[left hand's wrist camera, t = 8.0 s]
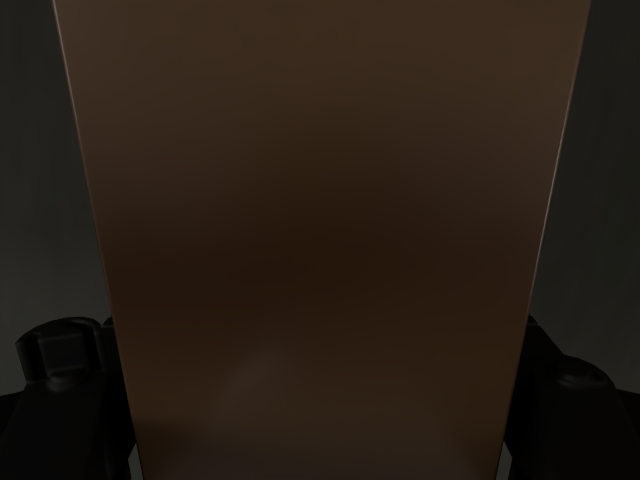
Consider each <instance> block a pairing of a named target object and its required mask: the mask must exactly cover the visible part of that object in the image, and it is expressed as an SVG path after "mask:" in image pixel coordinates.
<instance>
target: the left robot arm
mask: <svg viewBox="0 0 640 480" xmlns="http://www.w3.org/2000/svg"><path fill="white" fill-rule="evenodd" d="M15 344H16V348H17V351H18V355H19V358H20V361H21V365H22V368H23V372H24V375H25V379H26V382H27V384H26V386H25V388H24V391H21V392H17V393H13V394H8V395H3V396H0V480H131V473H130V467H129V462H128V458H129V456H130V454H131V451H132V449H133V447H134V445H135V443H136V439H135V434H134V428H133V423H132V418H131V413H130V408H129V402H128V397H127V392H126V387H125V382H124V376H123V371H122V366H121V361H120V356H119V350H118V345H117V340H116V335H115V330H114V324H113V319H112V314H111V315H110V318H108V319H107V320H106V321H105V322H104V324H103V325H102V328H101V325H100V323H98V322H97V321H96V320H94V319H91V318H86V317H67V318H62V319H58V320H53V321H50V322H47V323H45V324H42V325H39V326H37V327H35V328H33V329H31V330H30V331H28V332H27V333H25V334H23V335H22V336H21V337H20V338H19V340H18V341H17V342H16V343H15ZM504 442H505V444H506V446H507V448H508V450H509V452H510V454H511V456H512V462H511V467H510V472H509V477H508V480H640V394H637V393H632V392H627V391H623V390H619V389H616V388H615V385H614V383H613V382H612V381H611V379H610V378H609V377H608V376H607V374H606V373H604V372H603V371H602V370H600V369H599V368H597V367H596V366H595V365H593V364H590V363H588V362H586V361H584V360H581V359H579V358H575V357H571V356H567V355H564V354H563V353H562V352H561V351H560V350H559V348H558V347H557V346H556V345H555V344H554V342H553V341H552V340H551V339H550V338H549V336H548V335H547V334H546V333H545V332H544V330H543V329H542V328H541V327H540V326H538V323H537V322H536V321H535V320H534V318H533V317H532V316H530V313H529V316H528V321H527V326H526V331H525V336H524V341H523V346H522V351H521V356H520V361H519V366H518V371H517V376H516V381H515V386H514V391H513V396H512V401H511V406H510V411H509V416H508V421H507V426H506V431H505V435H504Z"/></svg>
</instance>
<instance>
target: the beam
mask: <svg viewBox="0 0 640 480" xmlns="http://www.w3.org/2000/svg"><path fill="white" fill-rule="evenodd" d="M51 2H52V8H53V13H54V18H55V23H56V28H57V34H58V39H59V44H60V49H61V54H62V59H63V65H64V70H65V75H66V80H67V85H68V91H69V96H70V101H71V106H72V111H73V117H74V122H75V127H76V132H77V137H78V143H79V148H80V153H81V158H82V163H83V169H84V174H85V179H86V184H87V189H88V195H89V200H90V205H91V210H92V215H93V221H94V226H95V231H96V236H97V241H98V247H99V252H100V257H101V262H102V267H103V272H104V278H105V283H106V288H107V293H108V298H109V304H110V309H111V314H112V319H113V324H114V330H115V335H116V340H117V345H118V350H119V356H120V361H121V366H122V371H123V376H124V382H125V387H126V392H127V397H128V402H129V408H130V413H131V418H132V423H133V428H134V434H135V439H136V444H137V449H138V454H139V460H140V465H141V470H142V475H143V480H496V475H497V470H498V465H499V460H500V455H501V450H502V445H503V440H504V435H505V431H506V426H507V421H508V416H509V411H510V406H511V401H512V396H513V391H514V386H515V381H516V376H517V371H518V366H519V361H520V356H521V351H522V346H523V341H524V336H525V331H526V326H527V321H528V316H529V311H530V306H531V301H532V296H533V291H534V286H535V281H536V276H537V271H538V266H539V261H540V256H541V251H542V246H543V241H544V236H545V231H546V226H547V221H548V216H549V211H550V206H551V201H552V196H553V191H554V186H555V181H556V176H557V171H558V166H559V161H560V156H561V151H562V146H563V141H564V136H565V131H566V126H567V121H568V116H569V111H570V107H571V102H572V97H573V92H574V87H575V82H576V77H577V72H578V67H579V62H580V57H581V52H582V47H583V42H584V37H585V32H586V27H587V22H588V17H589V12H590V7H591V2H592V0H51Z"/></svg>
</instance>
